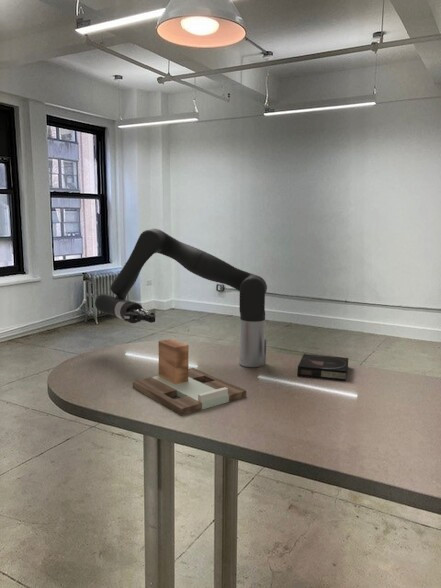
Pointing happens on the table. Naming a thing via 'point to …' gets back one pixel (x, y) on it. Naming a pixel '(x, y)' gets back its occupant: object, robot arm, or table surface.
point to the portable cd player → (323, 367)
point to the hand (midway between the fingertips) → (153, 319)
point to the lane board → (189, 391)
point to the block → (173, 361)
